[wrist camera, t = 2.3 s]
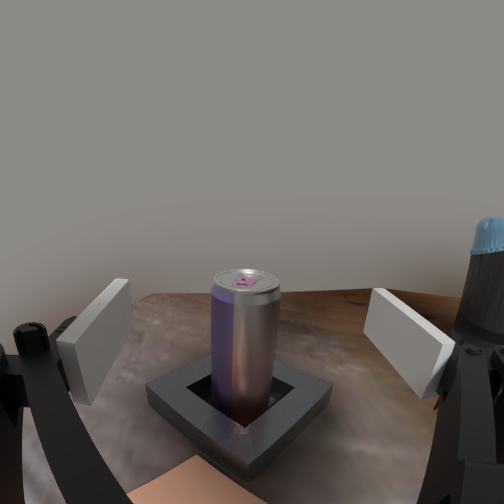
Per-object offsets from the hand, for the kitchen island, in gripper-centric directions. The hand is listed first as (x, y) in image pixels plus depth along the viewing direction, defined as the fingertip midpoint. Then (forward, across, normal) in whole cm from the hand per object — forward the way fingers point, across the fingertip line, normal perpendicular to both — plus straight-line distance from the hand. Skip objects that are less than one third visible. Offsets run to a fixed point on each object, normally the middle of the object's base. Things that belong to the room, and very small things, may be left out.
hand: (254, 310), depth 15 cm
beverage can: (+10, +1, -17) cm, 20 cm away
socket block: (+10, +1, -17) cm, 19 cm away
